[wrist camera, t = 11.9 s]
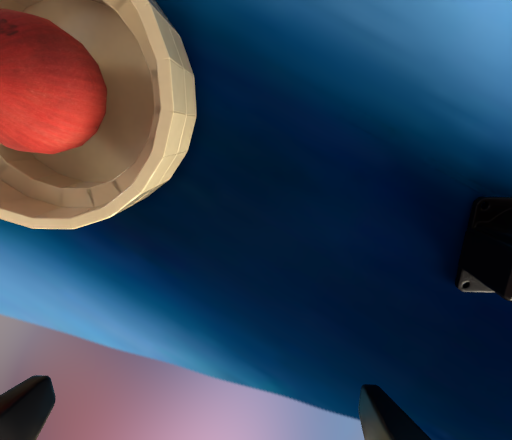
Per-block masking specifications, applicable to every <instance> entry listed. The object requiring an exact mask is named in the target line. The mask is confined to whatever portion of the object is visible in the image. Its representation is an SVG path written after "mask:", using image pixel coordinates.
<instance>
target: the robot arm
mask: <svg viewBox="0 0 512 440" xmlns="http://www.w3.org/2000/svg"><path fill="white" fill-rule="evenodd" d="M484 202H485V205H484V207H483V208H481V205H482V204H483V203H484ZM458 265H459V267H458V271H457V275H456V280H455V286H456V287H457V288H458V289H460V290H461V291H463V292H495V293H497V294H498V295H499V296H501V297H502V298H504V299H505V300H508V301H511V302H512V197H479V198H477V199H476V200H475V201H474V202H473V205H472V209H471V214H470V218H469V223H468V227H467V231H466V233H465V237H464V242H463V246H462V250H461V255H460V259H459V264H458ZM464 282H466V284H465V285H463V283H464ZM54 403H55V393H54V390H53V386H52V382H51V379H50V377H48V376H37V375H36V376H32V377H30V378H29V379H27V380H25V381H23V382H22V383H20V384H18V385H17V386H15V387H13V388H12V389H10V390H8V391H7V392H5V393H3V394H2V395H0V440H36V439H37V437H38V435H39V433H40V431H41V429H42V428H43V426H44V424H45V422H46V419H47V418H48V416H49V414H50V412H51V410H52V408H53V406H54ZM359 416H360V421H361V425H362V430H363V434H364V438H365V440H431V439H430V438H429V437H428V436H427V435H426V434H425V433H424V432H423V431H422V430H421V429H420V428H419V427H418V426H417V425H416V424H415V422H414V421H413V420H412V419H411V418H410V417H409V416H408V415H407V414H406V413H405V412H404V411H403V410H402V409H401V408H400V407H399V406H398V405H397V404H396V403H395V402H394V401H393V400H392V399H391V398H390V397H389V396H388V395H387V394H386V393H385V392H384V391H383V390H382V389H381V388H380V387H379V386H377V385H367V384H364V385H362V387H361V393H360V400H359Z"/></svg>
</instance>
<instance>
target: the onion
mask: <svg viewBox="0 0 512 440" xmlns="http://www.w3.org/2000/svg"><path fill="white" fill-rule="evenodd" d="M106 102H107V87H106V85H105V82H104V79H103V76H102V73H101V71H100V68H99V65H98V64H97V62H96V61H95V60H94V58H93V57H92V56H91V54H90V53H89V52H88V51H87V49H86V48H85V47H84V45H83V44H82V43H80V42H79V41H78V40H76V39H75V38H74V37H72V36H71V35H70V34H68V33H67V32H65V31H64V30H63V29H61V28H60V27H58V26H57V25H55V24H54V23H53V22H51V21H50V20H48V19H45V18H42V17H39V16H36V15H33V14H28V13H24V12H19V11H15V10H10V9H0V143H1V144H3V145H4V146H6V147H8V148H11V149H14V150H17V151H24V152H34V153H43V154H56V153H59V152H63V151H66V150H70V149H73V148H76V147H80V146H82V145H83V144H85V143H86V142H87V141H88V140H89V139H90V138H91V137H92V136H93V135H94V134H96V133H97V131H98V129H99V126H100V124H101V122H102V120H103V118H104V116H105V114H106Z"/></svg>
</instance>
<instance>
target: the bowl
mask: <svg viewBox="0 0 512 440" xmlns="http://www.w3.org/2000/svg"><path fill="white" fill-rule="evenodd" d="M0 9H10V10H15V11H19V12H24V13H28V14H33V15H36V16H39V17H42V18H45V19H48V20H50V21H51V22H53V23H54V24H55V25H57V26H58V27H60V28H61V29H63V30H64V31H65V32H67V33H68V34H70V35H71V36H72V37H74V38H75V39H76V40H78V41H79V42H80V43H82V44H83V45H84V47H85V48H86V49H87V51H88V52H89V53H90V54H91V56H92V57H93V58H94V60H95V61H96V62H97V64H98V65H99V68H100V71H101V73H102V76H103V79H104V82H105V85H106V87H107V102H106V114H105V116H104V118H103V120H102V122H101V124H100V126H99V129H98V131H97V133H96V134H94V135H93V136H92V137H91V138H90V139H89V140H88V141H87V142H86V143H85V144H83V145H82V146H80V147H76V148H73V149H70V150H66V151H63V152H59V153H56V154H43V153H34V152H24V151H17V150H14V149H11V148H8V147H6V146H4V145H3V144H1V143H0V219H3V220H6V221H9V222H12V223H16V224H19V225H22V226H25V227H29V228H34V229H76V228H79V227H82V226H86V225H89V224H92V223H95V222H98V221H101V220H104V219H107V218H110V217H112V216H114V215H116V214H118V213H119V212H121V211H123V210H125V209H126V208H128V207H130V206H132V205H134V204H135V203H137V202H139V201H141V200H143V199H144V198H146V197H147V196H149V195H150V194H151V193H153V192H154V191H155V190H157V189H158V188H159V187H160V186H162V185H163V184H164V183H166V182H167V181H168V180H169V179H170V178H171V177H172V175H173V174H174V172H175V170H176V169H177V167H178V166H179V164H180V163H181V161H182V159H183V158H184V156H185V155H186V153H187V151H188V148H189V144H190V140H191V136H192V132H193V128H194V124H195V120H196V97H195V79H194V74H193V71H192V69H191V66H190V63H189V60H188V57H187V54H186V51H185V48H184V46H183V43H182V40H181V37H180V35H179V34H178V32H177V31H176V30H175V28H174V27H173V25H172V24H171V22H170V21H169V19H168V18H167V17H166V15H165V14H164V12H163V11H162V9H161V8H160V7H159V5H158V4H157V2H156V1H155V0H0Z"/></svg>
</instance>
